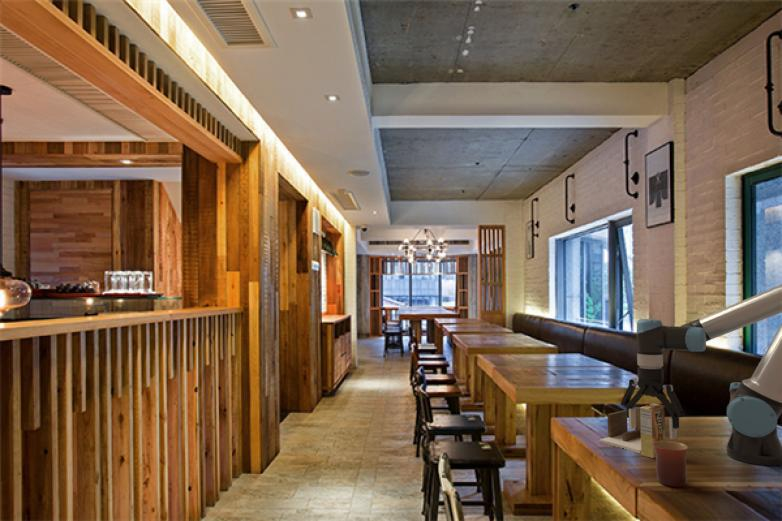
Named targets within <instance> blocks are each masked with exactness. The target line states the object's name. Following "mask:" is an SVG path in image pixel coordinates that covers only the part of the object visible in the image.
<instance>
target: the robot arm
mask: <svg viewBox="0 0 782 521" xmlns="http://www.w3.org/2000/svg"><path fill="white" fill-rule="evenodd" d="M779 314H782V284H779V285H777V286H774V287H771V288H770V289H767V290H765V291H763V292H761V293H758V294H756V295H753V296H749V297H747V298H746V299H744V300H740V301H739V302H736V303H734V304H731V305H729V306H727V307H724V308H721V309H719V310H716V311H714V312H712V313H710V314H707V315H704V316H702V317H699V318H697V319H695V320H693V321H690V322H686V323H685V324H682V325H680V326H676V325H675V326H673V325H672V326H668V325H663V321H662V320H661V319H657V318H656V319H653V318H640V319H638V320H637V321H636V333H635V334H636V335H635V336H636V349H637V350H636V351H637V352H636V357H637V359H636V361H637V363H636V364H637V366H638V367H637V378H638V379H637V378H630V379H629V380H628V386H627V389H626V391H625V393H624V395H623V398H622V399H621V402H620V405H621V406H624V407H625V408H626V411H627V419H628V430H634V429H635V428H636V407H635V406H636V405H637V403H638V402H639V401H640V400H641V399H642V398H643V396H647V397H649V396H650V397H652V398H656V399H657V400H659V401H660V403H661V405H663V406H664V409H666V412H668V414H669V415H670V417H668V425H669V427H668V429H669V430H668V431H669V439H670V440H674V439H677V438H678V432H677V429H679V428H680V418H683V417H686V413H685V410H684V408H683V407H682V405H681V402H680V399H679V398H678V395H677V393H676V392H675V386H674V384H664V379H665V377H664V368H663V367H664V353H663V352H664V350H666V351H668V350H671V351H683V352H684V351H685V352H691V353H695V352H705V351H706V348H707V343H708V342H709V341H711V340H714V339H716V338H719V337H721V336H724V335H727V334H729V333H732V332H735V331H738V330H740V329H742V328H745V327H748V326H751V325H753V324H755V323H758V322H760V321H763V320H766V319H768V318H769V319H770V318H772V317H774V316H776V315H779ZM637 387H638V388H639V389H638V390H637V391H636V388H637ZM635 391H636V393H635V395H634V392H635ZM664 391H665V392H666V393H665V392H664ZM729 394H730V399H729V403H728V404H727V406H726V416H727V419H728V422H729V423H730V425H731V431H730V432H731V433H730V436H729V438H728V441H727V444H726V455H727V456H728V457H730V458H732V459H734V460H736V461H741V462H744V463H747V464H753V465H760V466H780V465H782V443H781V441H780V438H779V435H778V424H777V423H778V420H779V418H780V416H781V414H782V323H781V324H780V326H779V327H778V329H777V332H776V333H775V335H774V337H773V339H772V340H771V341H770V343H769V345H768V347H767V349H766V351H765V353H764V354H763V356H762V357H761V360H760V362H758V365H757V366H756V368H755V370H754V372H753V373H752V376H751V377H750V378H747V379H743V380H742V381H741V382H738V381H737V382H731V383H730V386H729ZM632 396H633V397H632Z"/></svg>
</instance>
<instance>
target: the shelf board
mask: <svg viewBox="0 0 782 521" xmlns="http://www.w3.org/2000/svg"><path fill="white" fill-rule="evenodd" d="M599 443H601V444H605V445H607V446H608V445H609V446H610V447H611V446H612V447H614V446H615V448H618V447H620V448H619V449H622V448H624V449H623V450H625V449H627V450H626V451H629V450H630V451H629V452H633V453H637V454H641V438H636V439H633V440H629V441H626V442H625V441H623V435H619V436H615V437H612V438H610V437H608V436H607V437H604V438H601V439H599Z"/></svg>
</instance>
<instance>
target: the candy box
mask: <svg viewBox="0 0 782 521" xmlns="http://www.w3.org/2000/svg"><path fill="white" fill-rule="evenodd" d="M639 408H640V423H641V453H640V454H641V456H642V457H647V458H651V459H654V458H655V459H656V454H655V450H654V447H653V444H652V443H653V442H655V441H666V424H665V423H666V419H665V418H666V417H665V414H666V413H665V407H664V406H663V404H658V403H654V402H653V403H650V404H647V405H643V406H641V407H639Z"/></svg>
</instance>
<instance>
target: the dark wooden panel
mask: <svg viewBox="0 0 782 521" xmlns="http://www.w3.org/2000/svg"><path fill="white" fill-rule="evenodd" d="M628 430H629V426H628V418H627V409H626V410H625V409H623V410H619V411H615V412H612V413H607V432H608V433H607V437H610V438H612V437H615V436H619V435H623V433H626V432H629V431H628Z"/></svg>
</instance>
